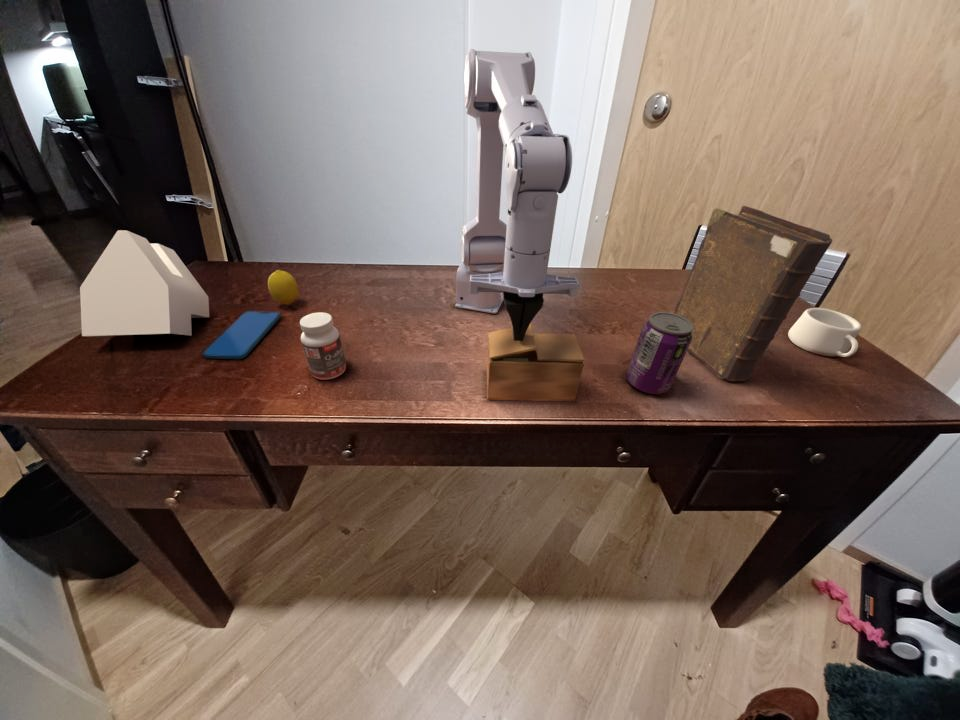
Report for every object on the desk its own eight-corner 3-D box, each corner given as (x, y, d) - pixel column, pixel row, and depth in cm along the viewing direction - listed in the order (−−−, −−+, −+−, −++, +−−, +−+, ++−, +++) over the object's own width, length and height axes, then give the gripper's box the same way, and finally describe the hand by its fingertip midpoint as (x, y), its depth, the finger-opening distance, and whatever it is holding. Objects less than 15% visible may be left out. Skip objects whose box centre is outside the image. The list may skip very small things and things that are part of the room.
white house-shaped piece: (210, 337, 75) (206, 249, 74) (170, 333, 63) (165, 230, 63) (136, 340, 73) (132, 250, 73) (81, 336, 62) (77, 230, 62)
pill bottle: (336, 383, 59) (323, 331, 53) (304, 378, 60) (287, 327, 54) (352, 362, 64) (341, 312, 58) (322, 358, 64) (308, 308, 59)
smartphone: (199, 354, 63) (245, 310, 75) (202, 359, 63) (247, 314, 75) (242, 356, 63) (281, 312, 75) (244, 360, 63) (283, 316, 75)
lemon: (268, 307, 78) (256, 272, 74) (288, 297, 83) (278, 263, 78) (288, 313, 77) (277, 277, 72) (308, 302, 81) (298, 267, 76)
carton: (487, 400, 57) (489, 357, 52) (486, 372, 63) (488, 332, 58) (574, 401, 58) (585, 359, 53) (566, 374, 63) (575, 334, 58)
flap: (490, 359, 53) (489, 357, 52) (489, 334, 58) (488, 332, 58) (536, 349, 52) (536, 347, 51) (531, 324, 57) (530, 322, 57)
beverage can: (673, 400, 58) (702, 337, 51) (627, 393, 59) (650, 331, 52) (664, 373, 64) (690, 313, 57) (622, 367, 65) (642, 307, 58)
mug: (775, 331, 77) (790, 305, 73) (819, 331, 77) (836, 306, 74) (819, 365, 67) (839, 338, 64) (869, 366, 68) (892, 338, 64)
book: (753, 383, 63) (844, 237, 48) (716, 386, 62) (797, 238, 47) (693, 331, 76) (750, 204, 61) (662, 333, 75) (711, 205, 60)
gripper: (469, 256, 43) (468, 351, 51) (592, 260, 43) (571, 353, 51) (470, 237, 48) (469, 325, 57) (579, 240, 49) (562, 327, 57)
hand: (517, 337), depth 54 cm, fingers closed
